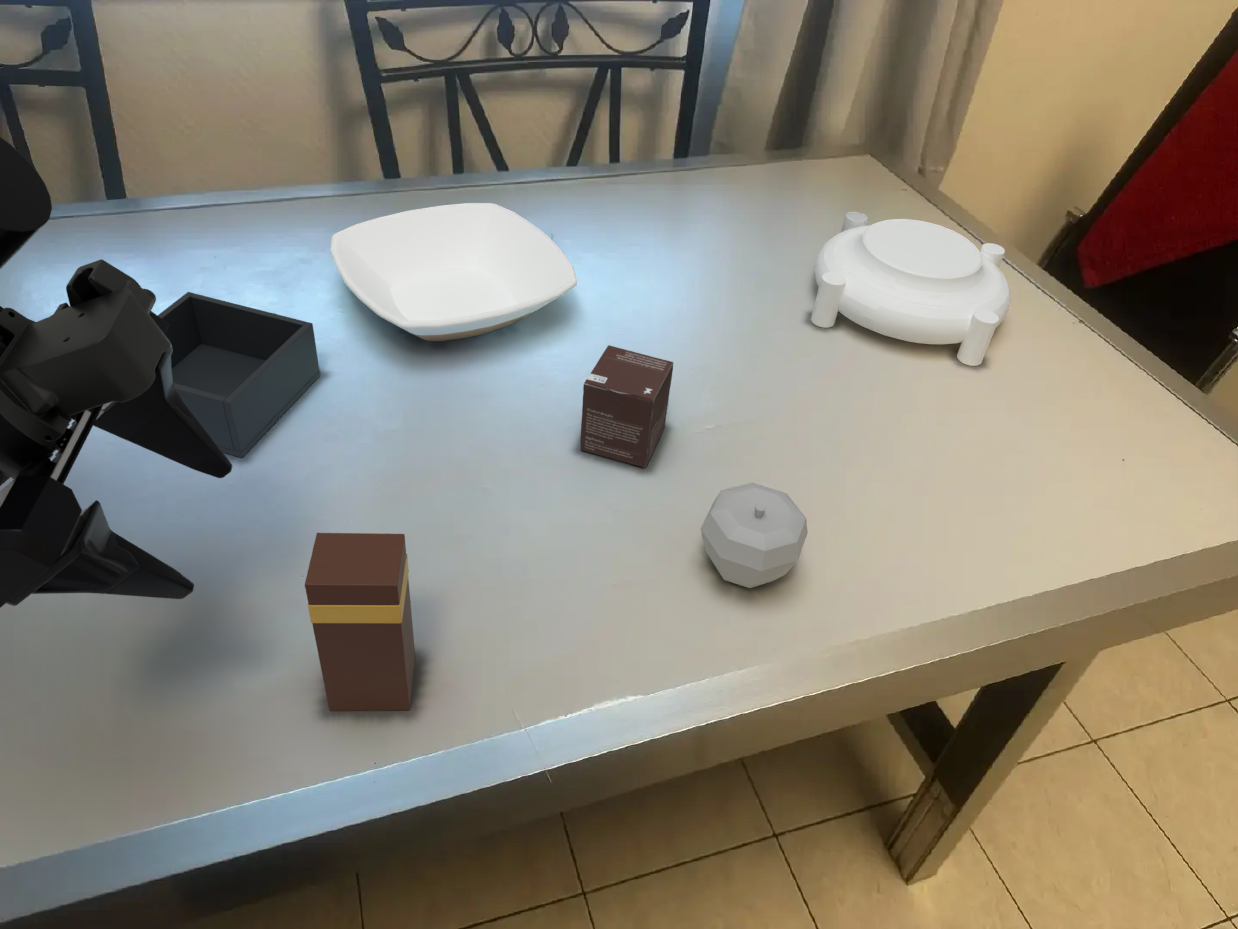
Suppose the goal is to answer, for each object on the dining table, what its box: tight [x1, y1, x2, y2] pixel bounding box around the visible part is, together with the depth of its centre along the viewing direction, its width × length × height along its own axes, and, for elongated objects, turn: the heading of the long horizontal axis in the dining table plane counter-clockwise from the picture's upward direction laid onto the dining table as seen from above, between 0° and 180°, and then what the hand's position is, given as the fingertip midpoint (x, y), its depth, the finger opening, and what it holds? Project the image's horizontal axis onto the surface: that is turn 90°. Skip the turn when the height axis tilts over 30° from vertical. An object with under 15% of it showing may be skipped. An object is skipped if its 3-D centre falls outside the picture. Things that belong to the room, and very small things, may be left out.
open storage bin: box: [156, 291, 321, 459], centre depth 80 cm, size 12×12×6 cm
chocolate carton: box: [304, 532, 417, 712], centre depth 58 cm, size 5×4×12 cm
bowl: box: [329, 202, 578, 342], centre depth 95 cm, size 22×22×5 cm
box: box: [579, 344, 674, 468], centre depth 80 cm, size 6×6×7 cm
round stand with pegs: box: [810, 211, 1012, 367], centre depth 102 cm, size 24×24×7 cm
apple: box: [700, 482, 808, 589], centre depth 70 cm, size 8×8×7 cm
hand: (209, 528), depth 53 cm, fingers open, 9 cm apart
